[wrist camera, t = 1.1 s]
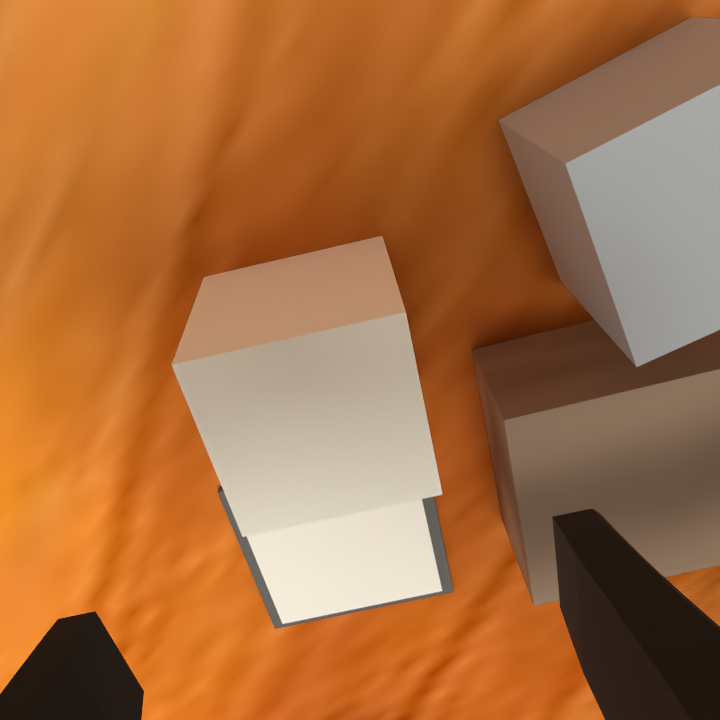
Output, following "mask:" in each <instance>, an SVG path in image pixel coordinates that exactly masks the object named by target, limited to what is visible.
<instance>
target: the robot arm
mask: <svg viewBox="0 0 720 720" xmlns="http://www.w3.org/2000/svg"><path fill="white" fill-rule="evenodd" d="M552 519H553V530H554V542H555V553H556V564H557V575H558V587H559V598H560V608H561V611H562V614H563V616H564V619H565V622H566V625H567V628H568V631H569V634H570V637H571V639H572V642H573V645H574V648H575V651H576V653H577V656H578V659H579V662H580V664H581V667H582V670H583V673H584V675H585V677H586V679H587V682H588V684H589V686H590V688H591V690H592V692H593V694H594V697H595V699H596V701H597V703H598V705H599V707H600V709H601V711H602V714H603V716H604V718H605V720H720V627H719V626H718V625H717V624H716V623H715V622H714V621H713V620H711V619H710V618H709V617H708V616H707V615H706V614H705V613H704V612H702V611H701V610H700V609H699V608H698V607H697V606H696V605H694V604H693V603H692V602H691V601H690V600H689V599H688V598H686V597H685V596H684V595H683V594H682V593H681V592H680V591H679V590H678V589H676V588H675V587H674V586H673V585H672V584H671V583H670V582H669V581H668V580H667V579H666V578H664V577H663V576H662V575H661V574H660V573H659V572H658V571H657V570H656V569H655V568H654V567H653V566H652V565H651V564H650V563H649V562H648V561H647V560H646V559H645V558H643V557H642V556H641V555H640V554H639V553H638V552H637V551H636V550H635V549H634V548H633V547H632V546H631V545H630V544H629V543H628V542H627V541H626V540H625V539H624V538H623V537H622V536H621V535H620V534H619V533H618V532H617V531H616V530H615V528H614V527H613V526H612V525H611V524H610V523H609V522H608V521H607V520H606V519H605V518H604V517H603V516H602V515H601V514H600V513H599V512H597V511H596V510H594V509H593V508H592V509H587V510H582V511H577V512H572V513H568V514H563V515H558V516H553V517H552ZM143 695H144V691H143V689H142V688H141V686H140V684H139V683H138V681H137V679H136V678H135V676H134V674H133V673H132V671H131V669H130V668H129V666H128V664H127V663H126V661H125V659H124V658H123V656H122V655H121V653H120V651H119V650H118V648H117V646H116V645H115V643H114V641H113V640H112V638H111V636H110V635H109V633H108V631H107V630H106V628H105V626H104V625H103V623H102V622H101V620H100V618H99V617H98V615H97V613H96V612H90V613H86V614H81V615H76V616H71V617H66V618H61V619H58V620H57V621H56V622H55V624H54V625H53V626H52V627H51V629H50V630H49V631H48V632H47V634H46V635H45V636H44V637H43V639H42V640H41V641H40V643H39V644H38V645H37V646H36V648H35V649H34V650H33V652H32V653H31V654H30V656H29V657H28V658H27V660H26V661H25V662H24V664H23V665H22V666H21V667H20V669H19V670H18V671H17V673H16V674H15V675H14V677H13V678H12V679H11V681H10V682H9V683H8V685H7V686H6V687H5V689H4V690H3V691H2V693H1V694H0V720H141V716H142V705H143Z"/></svg>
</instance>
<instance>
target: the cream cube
mask: <svg viewBox="0 0 720 720" xmlns="http://www.w3.org/2000/svg"><path fill="white" fill-rule="evenodd" d="M172 368H173V370H174V372H175V375H176V377H177V380H178V382H179V384H180V387H181V389H182V392H183V394H184V397H185V399H186V401H187V404H188V406H189V409H190V411H191V413H192V416H193V418H194V421H195V423H196V426H197V428H198V430H199V433H200V435H201V438H202V440H203V442H204V445H205V447H206V450H207V452H208V454H209V457H210V459H211V462H212V464H213V467H214V469H215V471H216V474H217V476H218V479H219V481H220V483H221V486H222V488H223V491H224V493H225V496H226V498H227V500H228V503H229V505H230V508H231V510H232V512H233V515H234V517H235V520H236V522H237V525H238V527H239V529H240V532H241V534H242V537H245V536H250V535H255V534H260V533H264V532H269V531H274V530H278V529H283V528H288V527H292V526H297V525H302V524H307V523H311V522H316V521H321V520H325V519H330V518H335V517H339V516H344V515H349V514H354V513H358V512H363V511H368V510H372V509H377V508H382V507H387V506H391V505H396V504H401V503H405V502H410V501H415V500H419V499H424V498H429V497H434V496H438V495H443V494H442V490H441V485H440V480H439V475H438V470H437V465H436V460H435V455H434V450H433V445H432V440H431V435H430V430H429V425H428V420H427V415H426V410H425V405H424V400H423V395H422V390H421V385H420V380H419V375H418V370H417V365H416V360H415V355H414V350H413V345H412V340H411V335H410V330H409V325H408V320H407V315H406V311H405V307H404V304H403V301H402V298H401V294H400V291H399V288H398V285H397V281H396V278H395V275H394V272H393V268H392V265H391V262H390V259H389V255H388V252H387V249H386V246H385V242H384V239H383V236H379V237H375V238H370V239H366V240H362V241H357V242H353V243H349V244H344V245H340V246H336V247H331V248H327V249H323V250H318V251H314V252H310V253H305V254H301V255H297V256H292V257H288V258H284V259H279V260H275V261H271V262H266V263H262V264H258V265H253V266H249V267H245V268H240V269H236V270H232V271H227V272H223V273H219V274H215V275H210V276H206V277H204V278H203V281H202V284H201V286H200V289H199V292H198V294H197V297H196V300H195V302H194V305H193V308H192V311H191V313H190V316H189V319H188V321H187V324H186V327H185V330H184V332H183V335H182V338H181V340H180V343H179V346H178V349H177V351H176V354H175V357H174V359H173V362H172Z"/></svg>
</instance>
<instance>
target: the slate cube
mask: <svg viewBox="0 0 720 720" xmlns="http://www.w3.org/2000/svg"><path fill="white" fill-rule="evenodd" d="M499 123H500V126H501V128H502V131H503V133H504V136H505V138H506V141H507V144H508V146H509V149H510V151H511V154H512V156H513V159H514V162H515V164H516V167H517V169H518V172H519V174H520V177H521V180H522V182H523V185H524V187H525V190H526V192H527V195H528V198H529V200H530V203H531V205H532V208H533V210H534V213H535V216H536V218H537V221H538V223H539V226H540V228H541V231H542V234H543V236H544V239H545V241H546V244H547V246H548V249H549V252H550V254H551V257H552V259H553V262H554V264H555V267H556V270H557V272H558V275H559V277H560V280H561V282H562V284H563V285H564V286H565V287H566V288H567V289H568V290H569V291H570V293H571V294H572V295H573V296H574V297H575V298H576V299H577V300H578V302H579V303H580V304H581V305H582V306H583V307H584V308H585V310H586V311H587V312H588V313H589V314H590V315H591V316H592V317H593V319H594V320H595V321H596V322H597V323H598V324H599V325H600V326H601V328H602V329H603V330H604V331H605V332H606V333H607V334H608V335H609V337H610V338H611V339H612V340H613V341H614V342H615V343H616V344H617V346H618V347H619V348H620V349H621V350H622V351H623V352H624V353H625V355H626V356H627V357H628V358H629V359H630V360H631V361H632V362H633V364H634V365H635V366H636V367H638V366H640V365H643V364H645V363H647V362H649V361H651V360H654V359H656V358H658V357H660V356H663V355H665V354H667V353H669V352H671V351H674V350H676V349H678V348H680V347H683V346H685V345H687V344H689V343H692V342H694V341H696V340H698V339H700V338H703V337H705V336H707V335H709V334H712V333H714V332H716V331H718V330H720V19H717V18H699V17H691V18H689V19H687V20H685V21H683V22H681V23H680V24H678V25H676V26H674V27H672V28H670V29H668V30H666V31H665V32H663V33H661V34H659V35H657V36H655V37H653V38H651V39H650V40H648V41H646V42H644V43H642V44H640V45H638V46H636V47H635V48H633V49H631V50H629V51H627V52H625V53H623V54H621V55H620V56H618V57H616V58H614V59H612V60H610V61H608V62H606V63H605V64H603V65H601V66H599V67H597V68H595V69H593V70H591V71H590V72H588V73H586V74H584V75H582V76H580V77H578V78H576V79H575V80H573V81H571V82H569V83H567V84H565V85H563V86H561V87H560V88H558V89H556V90H554V91H552V92H550V93H548V94H546V95H545V96H543V97H541V98H539V99H537V100H535V101H533V102H531V103H530V104H528V105H526V106H524V107H522V108H520V109H518V110H516V111H515V112H513V113H511V114H509V115H507V116H505V117H503V118H501V119H500V120H499Z"/></svg>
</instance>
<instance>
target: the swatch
mask: <svg viewBox="0 0 720 720" xmlns="http://www.w3.org/2000/svg"><path fill="white" fill-rule="evenodd" d="M218 494H219V496H220V499H221V501H222V504H223V506H224V508H225V511H226V513H227V515H228V518H229V520H230V523H231V525H232V527H233V530H234V532H235V534H236V537H237V539H238V542H239V544H240V546H241V549H242V551H243V553H244V556H245V558H246V561H247V563H248V565H249V568H250V570H251V573H252V575H253V577H254V580H255V582H256V584H257V587H258V589H259V592H260V594H261V596H262V599H263V601H264V603H265V606H266V608H267V611H268V613H269V615H270V618H271V620H272V622H273V625H274V627H275V629H276V628H281V627H286V626H291V625H296V624H301V623H306V622H310V621H315V620H320V619H325V618H330V617H335V616H339V615H344V614H349V613H354V612H359V611H364V610H369V609H373V608H378V607H383V606H388V605H393V604H398V603H402V602H407V601H412V600H417V599H422V598H427V597H432V596H436V595H441V594H446V593H451V592H454V591H453V587H452V582H451V577H450V572H449V567H448V563H447V558H446V553H445V548H444V544H443V539H442V534H441V529H440V525H439V520H438V515H437V510H436V506H435V501H434V497H429V498H424V499H419V500H415V501H410V502H405V503H401V504H396V505H391V506H387V507H382V508H377V509H372V510H368V511H363V512H358V513H354V514H349V515H344V516H339V517H335V518H330V519H325V520H321V521H316V522H311V523H307V524H302V525H297V526H292V527H288V528H283V529H278V530H274V531H269V532H264V533H260V534H255V535H250V536H245V537H242V534H241V532H240V529H239V527H238V525H237V522H236V520H235V517H234V515H233V512H232V510H231V508H230V505H229V503H228V500H227V498H226V496H225V493H224V491H223V488H218Z"/></svg>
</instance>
